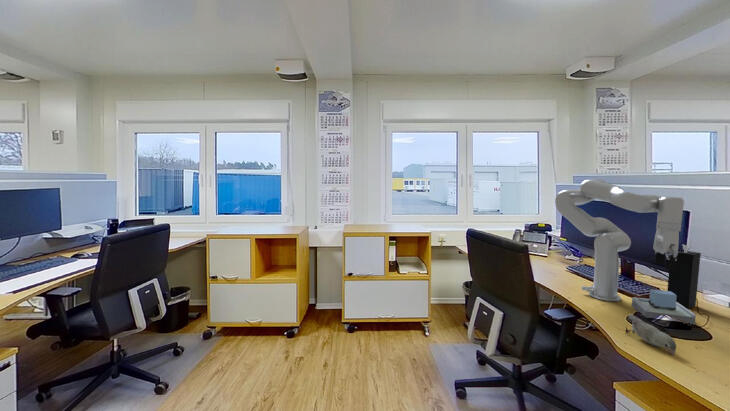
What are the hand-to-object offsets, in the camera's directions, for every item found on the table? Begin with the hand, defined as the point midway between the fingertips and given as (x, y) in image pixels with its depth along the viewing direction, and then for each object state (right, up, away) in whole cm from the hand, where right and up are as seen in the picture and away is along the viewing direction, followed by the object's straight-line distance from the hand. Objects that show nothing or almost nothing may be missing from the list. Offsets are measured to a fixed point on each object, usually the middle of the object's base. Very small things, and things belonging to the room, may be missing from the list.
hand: (664, 266), depth 139 cm
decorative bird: (-27, -23, -24) cm, 42 cm away
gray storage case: (0, -18, +1) cm, 18 cm away
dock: (0, -21, +1) cm, 21 cm away
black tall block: (+19, -20, +13) cm, 31 cm away
